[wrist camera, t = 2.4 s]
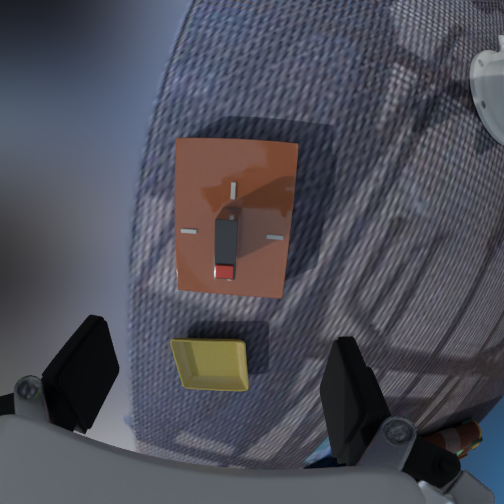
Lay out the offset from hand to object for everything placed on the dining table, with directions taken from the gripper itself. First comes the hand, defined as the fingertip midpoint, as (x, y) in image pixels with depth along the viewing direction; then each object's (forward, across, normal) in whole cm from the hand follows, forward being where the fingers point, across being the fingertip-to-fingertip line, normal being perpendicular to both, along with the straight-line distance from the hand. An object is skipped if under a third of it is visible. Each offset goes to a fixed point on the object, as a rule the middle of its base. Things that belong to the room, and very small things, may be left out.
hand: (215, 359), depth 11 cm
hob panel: (+18, +1, -2) cm, 18 cm away
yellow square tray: (+18, +3, +16) cm, 25 cm away
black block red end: (+15, +1, -1) cm, 15 cm away
